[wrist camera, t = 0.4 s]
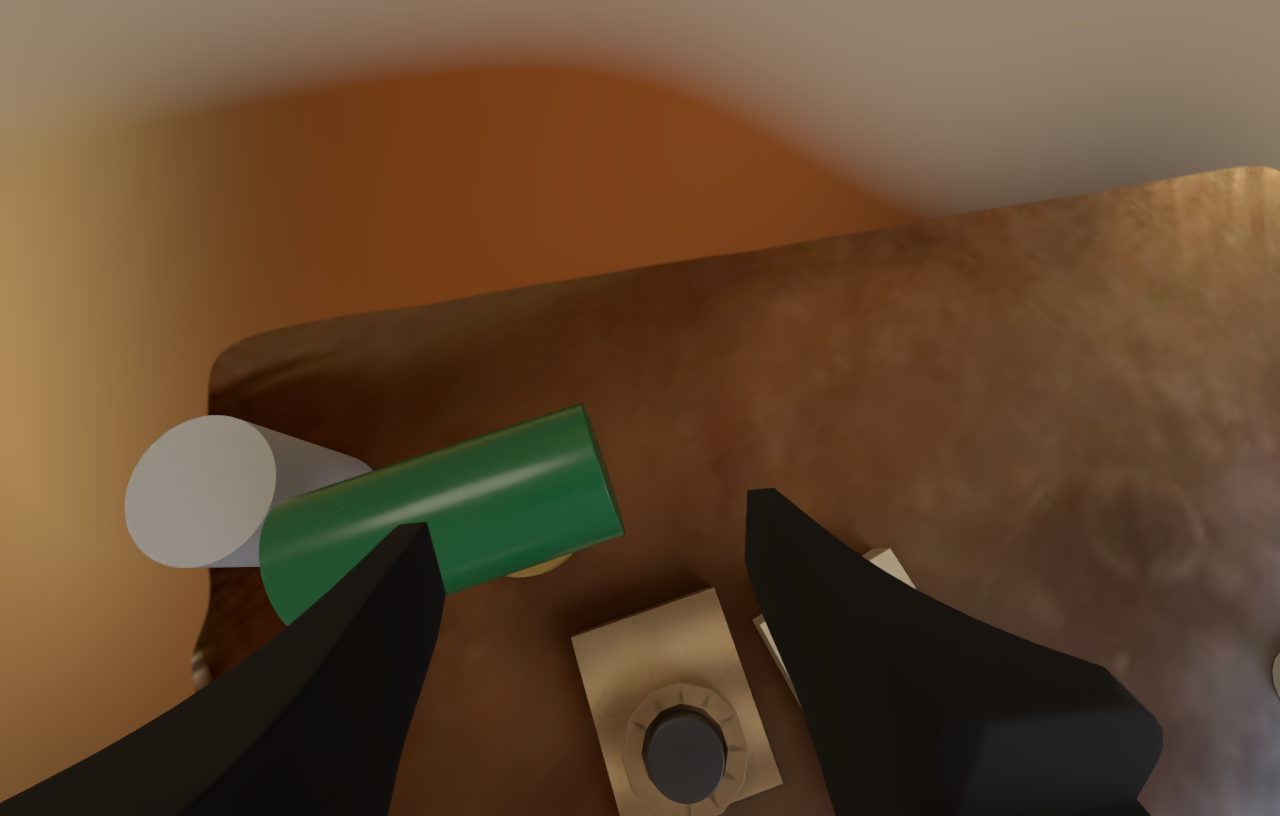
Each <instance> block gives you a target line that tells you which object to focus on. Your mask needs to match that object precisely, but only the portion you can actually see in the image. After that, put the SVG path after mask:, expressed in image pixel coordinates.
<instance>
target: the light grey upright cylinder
mask: <svg viewBox="0 0 1280 816" xmlns="http://www.w3.org/2000/svg"><path fill="white" fill-rule="evenodd" d="M371 471H373V470H372V469H371V468H370V467H369V466H368V465H367V464H365V463H364V462H362V461H361V460H359V459H356V458H354V457H351V456H348V455H345V454H342V453H339V452H336V451H333V450H330V449H327V448H324V447H321V446H318V445H315V444H312V443H309V442H306V441H303V440H300V439H297V438H294V437H291V436H288V435H285V434H282V433H279V432H276V431H273V430H270V429H267V428H264V427H261V426H258V425H255V424H252V423H249V422H246V421H243V420H240V419H237V418H234V417H229V416H222V415H212V416H203V417H199V418H195V419H192V420H189V421H186V422H184V423H182V424H180V425H178V426H176V427H174V428H172V429H171V430H169V431H168V432H166V433H165V434H164V435H162V436H161V437H160V438H159V439H158V440H157V441H155V442H154V443H153V444H152V445H151V446H150V447H149V449H148V450H147V451H146V452H145V454H144V455H143V456H142V458H141V459H140V461H139V462H138V464H137V466H136V467H135V469H134V471H133V473H132V476H131V478H130V481H129V484H128V488H127V492H126V497H125V518H126V523H127V527H128V530H129V533H130V535H131V537H132V539H133V541H134V542H135V543H136V545H137V546H138V548H139V549H140V550H141V551H142V552H143V553H144V554H145V555H147V556H148V557H149V558H151V559H153V560H154V561H156V562H158V563H161V564H164V565H167V566H171V567H179V568H203V567H204V568H205V567H260V563H259V542H260V535H261V531H262V527H263V524H264V521H265V519H266V517H267V516H268V514H269V512H270V511H271V510H272V509H273V508H274V507H275V506H276V505H277V504H278V503H280V502H281V501H283V500H285V499H288V498H291V497H294V496H297V495H300V494H303V493H307V492H310V491H313V490H316V489H319V488H322V487H325V486H328V485H331V484H334V483H337V482H340V481H343V480H346V479H349V478H353V477H356V476H359V475H362V474H365V473H368V472H371Z"/></svg>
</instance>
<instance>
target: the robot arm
mask: <svg viewBox="0 0 1280 816" xmlns="http://www.w3.org/2000/svg"><path fill="white" fill-rule="evenodd" d="M745 563H746V567H747V571H748V574H749V578H750V581H751V585H752V588H753V591H754V595H755V598H756V601H757V603H758V606H759V608H760V611H761V613H762V615H763V618H764V620H765V622H766V625H767V627H768V629H769V632H770V634H771V636H772V639H773V641H774V643H775V645H776V648H777V650H778V652H779V655H780V657H781V659H782V661H783V664H784V666H785V668H786V671H787V673H788V675H789V678H790V680H791V682H792V684H793V687H794V689H795V692H796V694H797V697H798V699H799V702H800V705H801V707H802V710H803V713H804V716H805V719H806V722H807V725H808V728H809V731H810V735H811V738H812V741H813V744H814V747H815V750H816V753H817V756H818V759H819V763H820V766H821V769H822V773H823V776H824V779H825V782H826V786H827V789H828V792H829V795H830V799H831V802H832V805H833V809H834V812H835V816H1150V814H1149V813H1148V812H1147V811H1146V810H1145V809H1144V807H1143V806H1142V805H1141V804H1140V803H1139V801H1138V800H1137V799H1136V798H1137V797H1138V795H1139V793H1140V791H1141V790H1142V788H1143V786H1144V784H1145V783H1146V781H1147V779H1148V777H1149V776H1150V774H1151V772H1152V771H1153V769H1154V767H1155V765H1156V764H1157V762H1158V759H1159V756H1160V754H1161V751H1162V749H1163V730H1162V727H1161V726H1160V724H1159V722H1158V721H1157V719H1156V718H1155V717H1154V716H1153V715H1152V714H1151V713H1150V712H1149V711H1148V710H1147V709H1146V708H1145V707H1144V706H1143V705H1142V704H1141V703H1140V702H1139V701H1138V700H1137V699H1136V698H1135V697H1134V696H1133V695H1132V694H1131V693H1130V692H1129V691H1128V690H1127V689H1126V688H1125V687H1124V686H1123V685H1122V684H1121V683H1120V682H1119V681H1118V680H1117V679H1116V678H1115V677H1114V676H1113V675H1112V674H1111V673H1110V672H1109V671H1108V670H1107V669H1106V668H1105V667H1103V666H1100V665H1097V664H1094V663H1091V662H1088V661H1085V660H1082V659H1079V658H1076V657H1073V656H1070V655H1068V654H1065V653H1062V652H1059V651H1056V650H1053V649H1050V648H1047V647H1044V646H1041V645H1038V644H1036V643H1033V642H1030V641H1028V640H1025V639H1023V638H1020V637H1018V636H1015V635H1013V634H1010V633H1008V632H1005V631H1003V630H1001V629H998V628H996V627H993V626H991V625H989V624H986V623H984V622H982V621H979V620H977V619H975V618H973V617H970V616H968V615H966V614H964V613H962V612H960V611H958V610H956V609H954V608H952V607H950V606H948V605H946V604H944V603H942V602H939V601H937V600H935V599H934V598H932V597H930V596H928V595H926V594H924V593H922V592H920V591H918V590H917V589H915V588H913V587H911V586H910V585H908V584H906V583H905V582H903V581H901V580H899V579H898V578H896V577H894V576H892V575H891V574H889V573H887V572H886V571H884V570H883V569H881V568H879V567H878V566H876V565H875V564H873V563H872V562H870V561H869V560H867V559H866V558H864V557H863V556H861V555H860V554H858V553H857V552H856V551H854V550H853V549H851V548H850V547H848V546H847V545H846V544H844V543H843V542H841V541H840V540H839V539H837V538H836V537H835V536H833V535H832V534H831V533H829V532H828V531H827V530H826V529H824V528H823V527H822V526H820V525H819V524H818V523H817V522H815V521H814V520H813V519H812V518H810V517H809V516H808V515H807V514H805V513H804V512H803V511H802V510H800V509H799V508H798V507H797V506H796V505H794V504H793V503H792V502H791V501H790V500H788V499H787V498H786V497H785V496H783V495H782V494H781V493H780V492H778V491H777V490H776V489H775V488H766V489H756V490H748V491H747V515H746V540H745ZM445 594H446V591H445V587H444V583H443V580H442V576H441V572H440V569H439V565H438V561H437V557H436V554H435V550H434V546H433V543H432V539H431V535H430V531H429V528H428V524H427V522H419V523H409V524H399V525H398V526H397V527H395V528H394V529H393V530H392V531H391V532H390V533H389V534H388V535H387V536H386V537H385V538H383V539H382V540H381V541H380V542H379V543H378V544H377V545H376V546H375V547H374V548H373V549H372V550H371V551H370V552H369V553H368V554H367V555H366V556H365V557H364V558H363V559H362V560H361V561H360V562H359V563H358V564H357V565H355V566H354V567H353V568H352V569H351V570H350V571H349V572H348V573H347V574H346V575H345V576H344V577H343V578H342V579H341V580H340V581H339V582H337V583H336V584H335V585H334V586H333V587H332V588H331V589H330V590H329V591H328V592H327V593H325V594H324V595H323V596H322V597H321V598H320V599H318V600H317V601H316V602H315V603H314V604H313V605H312V606H310V607H309V608H308V609H307V610H306V611H305V612H304V613H302V614H301V615H300V616H299V617H298V618H297V619H296V620H294V621H293V622H292V623H291V624H290V625H288V626H287V627H286V628H285V629H284V630H282V631H281V632H280V633H279V634H277V635H276V636H275V637H274V638H272V639H271V640H270V641H268V642H267V643H266V644H265V645H263V646H262V647H261V648H259V649H258V650H257V651H255V652H254V653H252V654H251V655H250V656H248V657H247V658H246V659H244V660H243V661H242V662H240V663H239V664H238V665H236V666H235V667H233V668H232V669H231V670H229V671H228V672H226V673H225V674H223V675H222V676H220V677H219V678H217V679H216V680H214V681H213V682H211V683H210V684H208V685H207V686H205V687H204V688H202V689H201V690H199V691H198V692H196V693H195V694H193V695H192V696H191V697H189V698H187V699H186V700H184V701H183V702H181V703H180V704H178V705H177V706H175V707H173V708H172V709H171V710H169V711H167V712H165V713H164V714H162V715H160V716H159V717H157V718H156V719H154V720H152V721H151V722H149V723H147V724H146V725H144V726H142V727H141V728H139V729H137V730H136V731H134V732H132V733H130V734H129V735H127V736H125V737H123V738H122V739H120V740H118V741H116V742H115V743H113V744H111V745H109V746H108V747H106V748H105V749H102V750H101V751H99V752H97V753H95V754H93V755H92V756H90V757H88V758H86V759H84V760H82V761H81V762H79V763H77V764H75V765H73V766H71V767H69V768H67V769H65V770H63V771H61V772H59V773H57V774H56V775H54V776H52V777H50V778H48V779H46V780H44V781H42V782H40V783H38V784H36V785H34V786H33V787H31V788H29V789H27V790H25V791H23V792H21V793H19V794H17V795H15V796H13V797H11V798H9V799H7V800H5V801H3V802H1V803H0V816H388V812H389V808H390V803H391V798H392V794H393V789H394V784H395V780H396V775H397V770H398V766H399V761H400V757H401V754H402V750H403V746H404V743H405V739H406V736H407V732H408V729H409V726H410V723H411V720H412V717H413V714H414V711H415V707H416V704H417V701H418V698H419V695H420V692H421V689H422V686H423V683H424V679H425V676H426V673H427V670H428V667H429V664H430V660H431V657H432V654H433V651H434V648H435V644H436V641H437V638H438V634H439V629H440V623H441V618H442V612H443V606H444V600H445Z"/></svg>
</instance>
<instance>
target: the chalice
mask: <svg viewBox="0 0 1280 816" xmlns="http://www.w3.org/2000/svg"><path fill="white" fill-rule="evenodd" d="M1272 673H1273V682H1274V686H1275V688H1276V691H1277V693H1278V696H1279V698H1280V652H1279V654H1278V655H1277V657H1276V658H1275V661H1274V665H1273V670H1272Z"/></svg>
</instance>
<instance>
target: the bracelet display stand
mask: <svg viewBox="0 0 1280 816" xmlns="http://www.w3.org/2000/svg"><path fill="white" fill-rule="evenodd" d="M419 522H427V524H428V528H429V531H430V535H431V539H432V543H433V546H434V550H435V554H436V557H437V561H438V565H439V569H440V572H441V576H442V580H443V583H444V587H445V591H446V594H445V596H448V595H451V594H454V593H457V592H460V591H463V590H466V589H469V588H471V587H474V586H477V585H480V584H483V583H486V582H489V581H492V580H495V579H498V578H501V577H504V576H508V577H529V576H536V575H540V574H544V573H546V572H548V571H551V570H553V569H555V568H556V567H558V566H559V565H561V564H562V563H563V562H565V561H566V560H567V559H568V558H569V557H570V556H571V555H572V554H573V553H574V552H577V551H580V550H583V549H586V548H589V547H592V546H595V545H598V544H601V543H603V542H606V541H609V540H612V539H615V538H618V537H621V536H624V535H625V528H624V524H623V520H622V516H621V513H620V509H619V506H618V502H617V499H616V496H615V492H614V489H613V486H612V483H611V479H610V476H609V473H608V470H607V467H606V464H605V461H604V458H603V455H602V452H601V449H600V446H599V443H598V440H597V437H596V434H595V432H594V429H593V426H592V423H591V421H590V418H589V415H588V413H587V411H586V408H585V406H584V404H583V403H579V404H576V405H573V406H570V407H567V408H564V409H561V410H558V411H555V412H552V413H549V414H546V415H543V416H540V417H536V418H533V419H530V420H527V421H524V422H521V423H518V424H515V425H512V426H509V427H506V428H503V429H500V430H497V431H494V432H490V433H487V434H484V435H481V436H478V437H475V438H472V439H469V440H466V441H463V442H460V443H457V444H454V445H451V446H448V447H444V448H441V449H438V450H435V451H432V452H429V453H426V454H423V455H420V456H417V457H414V458H411V459H408V460H405V461H402V462H398V463H395V464H392V465H389V466H386V467H383V468H380V469H377V470H374V471H371V472H368V473H365V474H362V475H359V476H356V477H353V478H349V479H346V480H343V481H340V482H337V483H334V484H331V485H328V486H325V487H322V488H319V489H316V490H313V491H310V492H307V493H303V494H300V495H297V496H294V497H291V498H288V499H285V500H283V501H281V502H280V503H278V504H277V505H276V506H275V507H274V508H273V509H272V510H271V511H270V512H269V514H268V516H267V517H266V519H265V521H264V524H263V527H262V531H261V535H260V542H259V563H260V571H261V576H262V580H263V584H264V587H265V590H266V593H267V595H268V598H269V600H270V602H271V604H272V606H273V608H274V610H275V611H276V613H277V614H278V616H279V617H280V618H281V620H282V621H283V622H284V623H285V624H286V625H287V626H288V625H290V624H291V623H292V622H293V621H294V620H296V619H297V618H298V617H299V616H300V615H301V614H302V613H304V612H305V611H306V610H307V609H308V608H309V607H310V606H312V605H313V604H314V603H315V602H316V601H317V600H318V599H320V598H321V597H322V596H323V595H324V594H325V593H327V592H328V591H329V590H330V589H331V588H332V587H333V586H334V585H335V584H336V583H337V582H339V581H340V580H341V579H342V578H343V577H344V576H345V575H346V574H347V573H348V572H349V571H350V570H351V569H352V568H353V567H354V566H355V565H357V564H358V563H359V562H360V561H361V560H362V559H363V558H364V557H365V556H366V555H367V554H368V553H369V552H370V551H371V550H372V549H373V548H374V547H375V546H376V545H377V544H378V543H379V542H380V541H381V540H382V539H383V538H385V537H386V536H387V535H388V534H389V533H390V532H391V531H392V530H393V529H394V528H395V527H397V526H398V525H399V524H409V523H419Z"/></svg>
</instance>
